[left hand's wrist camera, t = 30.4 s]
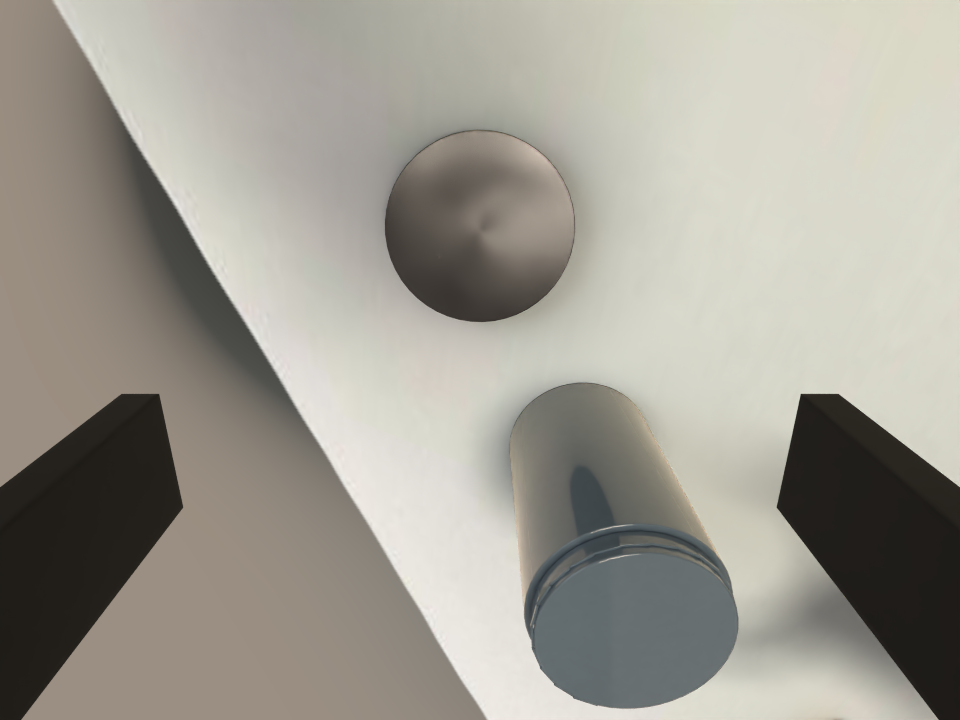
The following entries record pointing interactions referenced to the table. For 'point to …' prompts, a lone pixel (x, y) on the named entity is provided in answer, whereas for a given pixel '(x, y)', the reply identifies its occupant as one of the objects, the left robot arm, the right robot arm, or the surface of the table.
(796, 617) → the table surface
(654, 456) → the jar
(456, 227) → the lid
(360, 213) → the table surface
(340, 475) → the table surface
